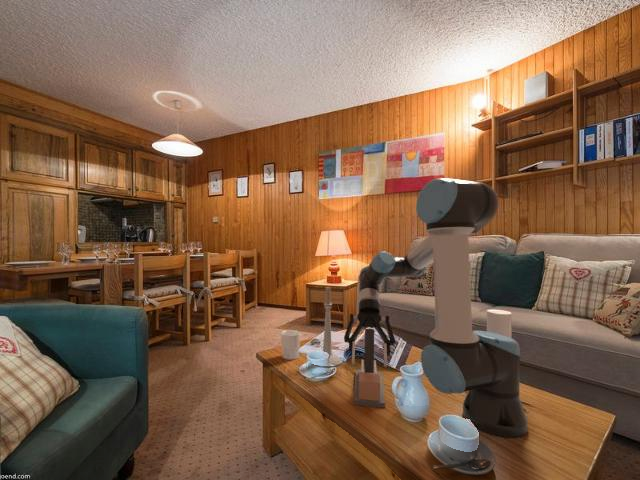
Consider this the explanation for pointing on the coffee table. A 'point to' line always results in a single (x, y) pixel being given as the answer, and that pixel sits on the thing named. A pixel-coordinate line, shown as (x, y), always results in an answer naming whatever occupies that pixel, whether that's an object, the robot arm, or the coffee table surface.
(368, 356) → the tube
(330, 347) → the candlestick
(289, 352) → the white cup
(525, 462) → the coffee table surface
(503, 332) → the cylindrical container
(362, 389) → the tube stand
